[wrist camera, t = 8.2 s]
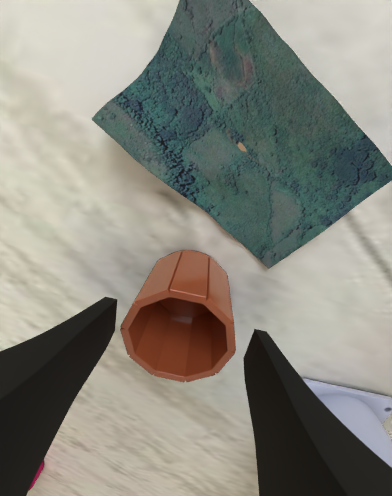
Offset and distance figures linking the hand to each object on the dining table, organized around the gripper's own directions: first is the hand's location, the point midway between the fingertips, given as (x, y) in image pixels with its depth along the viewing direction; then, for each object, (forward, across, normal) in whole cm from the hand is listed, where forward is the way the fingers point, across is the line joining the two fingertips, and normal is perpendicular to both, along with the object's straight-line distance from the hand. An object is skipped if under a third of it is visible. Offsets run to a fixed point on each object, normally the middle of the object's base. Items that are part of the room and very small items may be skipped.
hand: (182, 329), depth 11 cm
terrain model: (+4, -1, -9) cm, 10 cm away
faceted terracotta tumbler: (+4, 0, 0) cm, 4 cm away
